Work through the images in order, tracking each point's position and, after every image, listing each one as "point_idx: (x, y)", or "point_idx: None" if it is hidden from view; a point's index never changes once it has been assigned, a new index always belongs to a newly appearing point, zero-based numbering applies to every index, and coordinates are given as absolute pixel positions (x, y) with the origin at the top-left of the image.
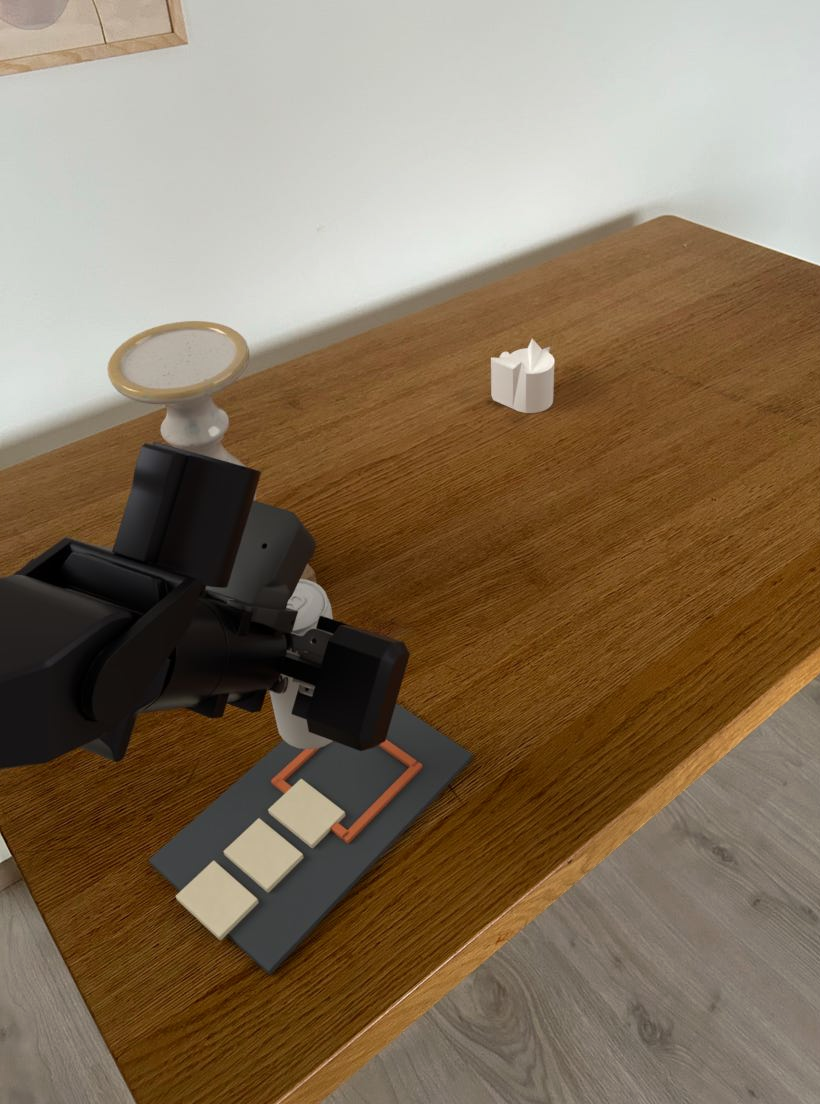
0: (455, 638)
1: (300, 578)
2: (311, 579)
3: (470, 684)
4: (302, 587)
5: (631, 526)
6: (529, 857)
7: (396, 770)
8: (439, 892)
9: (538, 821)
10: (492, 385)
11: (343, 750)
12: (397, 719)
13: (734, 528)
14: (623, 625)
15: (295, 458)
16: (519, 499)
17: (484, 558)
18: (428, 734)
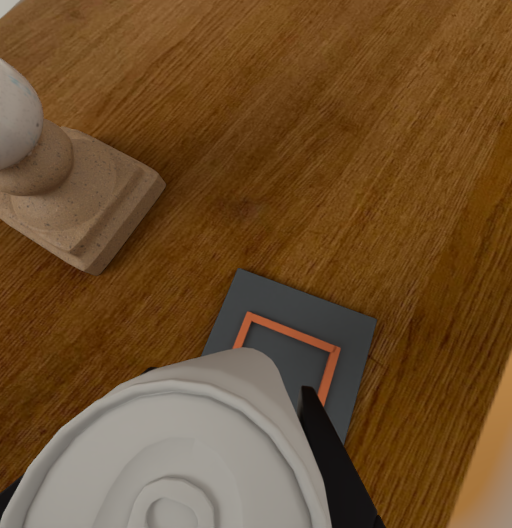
0: (306, 202)
1: (148, 184)
2: (158, 181)
3: (338, 244)
4: (170, 425)
5: (401, 56)
6: (467, 407)
7: (317, 358)
8: (406, 471)
9: (458, 366)
10: None
11: (260, 351)
12: (295, 303)
13: (482, 37)
14: (438, 150)
15: (97, 65)
16: (300, 55)
17: (296, 118)
18: (329, 310)
